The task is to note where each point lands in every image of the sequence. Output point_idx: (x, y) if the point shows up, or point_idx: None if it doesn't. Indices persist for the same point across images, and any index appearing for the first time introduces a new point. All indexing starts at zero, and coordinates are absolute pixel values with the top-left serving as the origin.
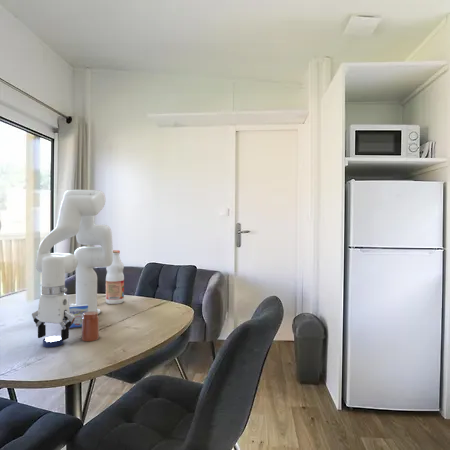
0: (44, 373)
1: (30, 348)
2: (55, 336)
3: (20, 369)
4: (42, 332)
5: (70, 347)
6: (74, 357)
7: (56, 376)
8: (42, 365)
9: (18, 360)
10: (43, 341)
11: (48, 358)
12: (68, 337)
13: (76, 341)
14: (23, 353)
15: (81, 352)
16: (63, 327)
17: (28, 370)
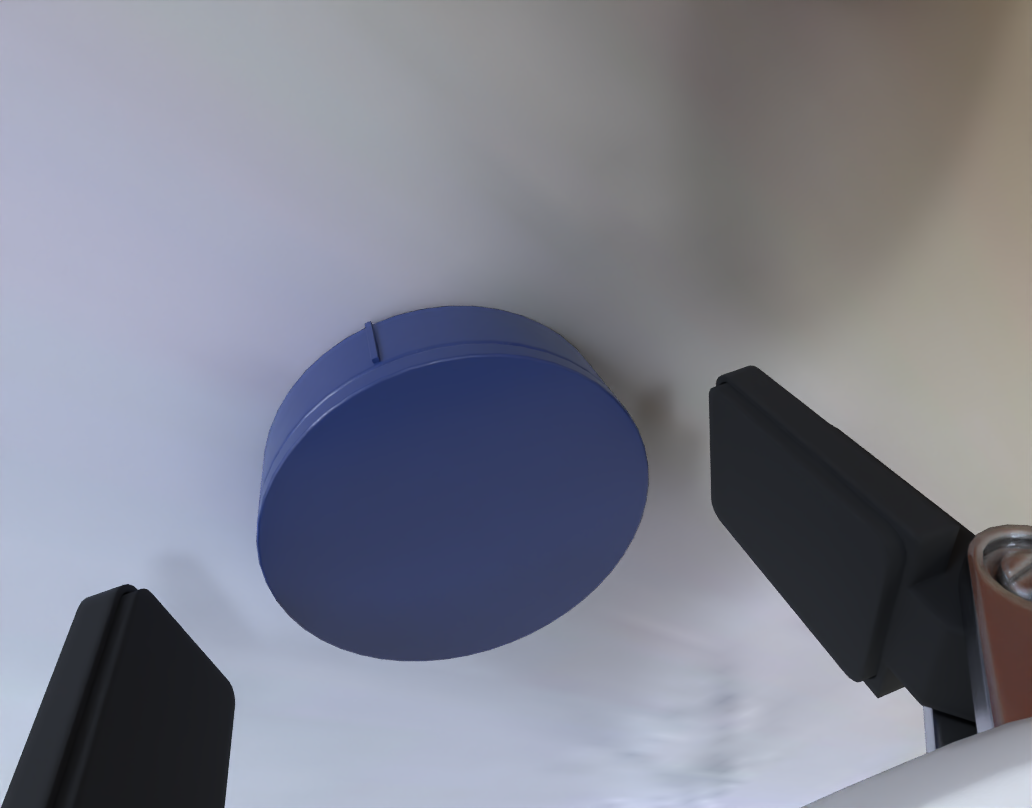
0: (918, 728)
1: (335, 703)
2: (356, 440)
3: (733, 804)
4: (183, 743)
5: (806, 381)
6: (1000, 512)
7: None
8: (829, 713)
9: (574, 805)
10: (421, 653)
11: (782, 656)
12: (752, 367)
13: (719, 111)
14: (442, 768)
15: (1022, 400)
16: (955, 710)
17: (794, 777)
